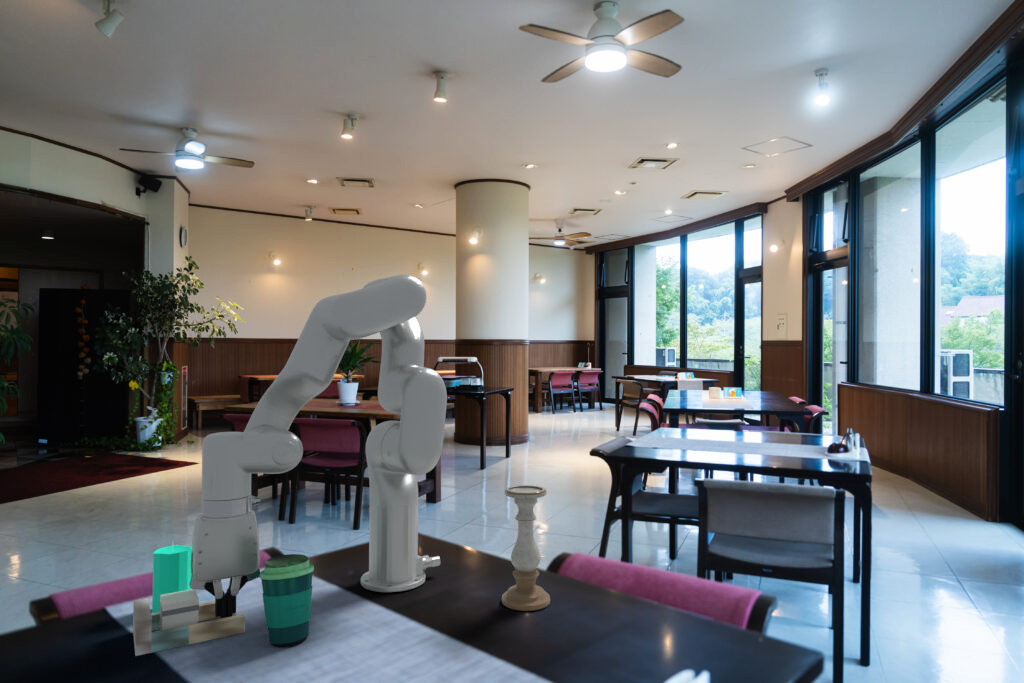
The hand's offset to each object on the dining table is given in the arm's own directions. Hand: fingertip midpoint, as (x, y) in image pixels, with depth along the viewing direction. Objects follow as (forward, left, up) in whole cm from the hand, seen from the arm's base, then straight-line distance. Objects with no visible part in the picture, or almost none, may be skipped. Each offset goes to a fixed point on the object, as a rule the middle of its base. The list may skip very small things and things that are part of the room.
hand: (225, 619), depth 103 cm
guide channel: (+5, 0, -1) cm, 5 cm away
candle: (+7, -12, -1) cm, 14 cm away
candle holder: (-47, +19, -1) cm, 51 cm away
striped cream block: (+7, 0, -1) cm, 7 cm away
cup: (-7, +11, -1) cm, 13 cm away
